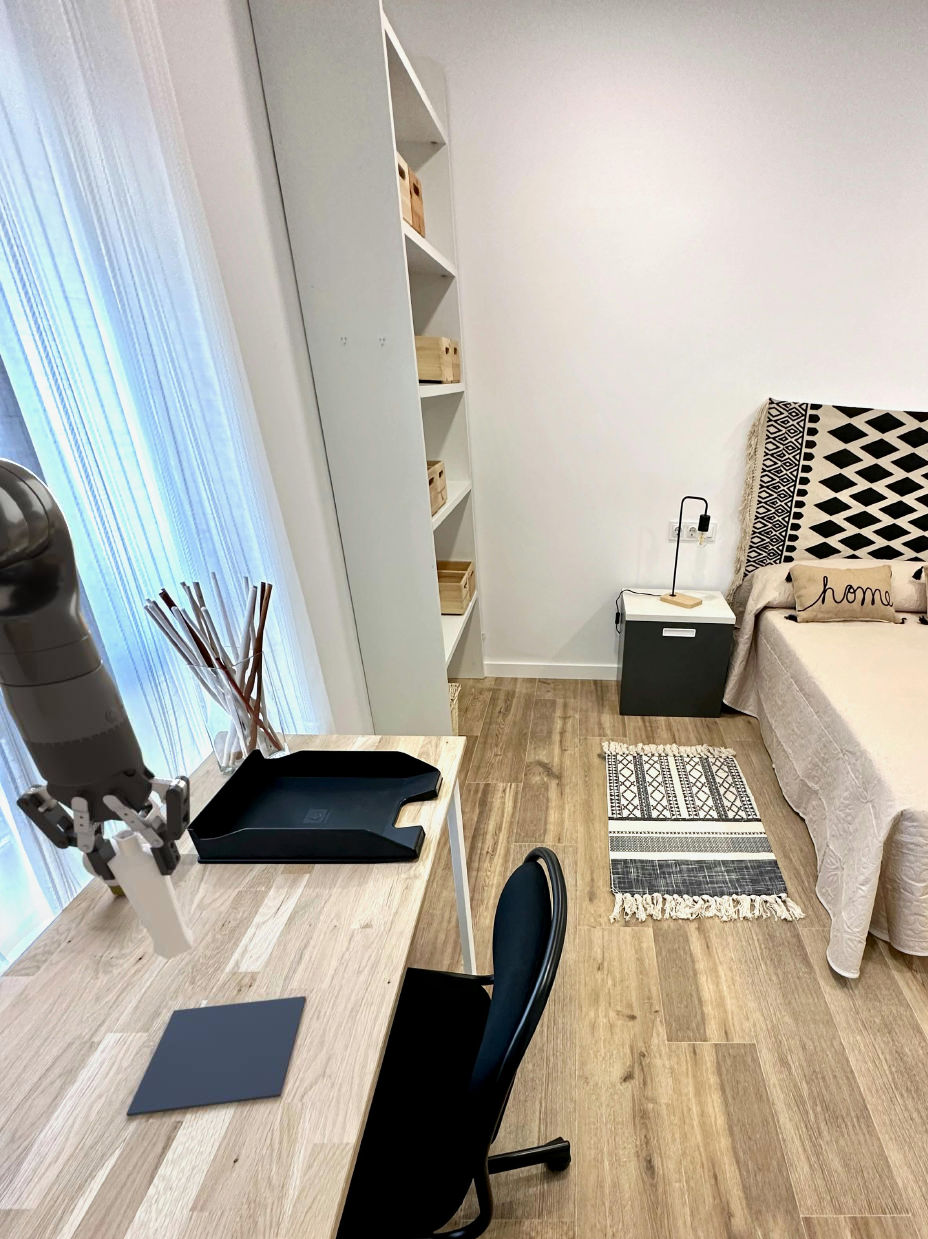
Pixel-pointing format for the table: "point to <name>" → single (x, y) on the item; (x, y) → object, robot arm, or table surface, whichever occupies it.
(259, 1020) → the cloth
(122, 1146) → the table surface
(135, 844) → the perfume bottle
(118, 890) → the light bulb
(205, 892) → the table surface
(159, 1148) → the table surface
